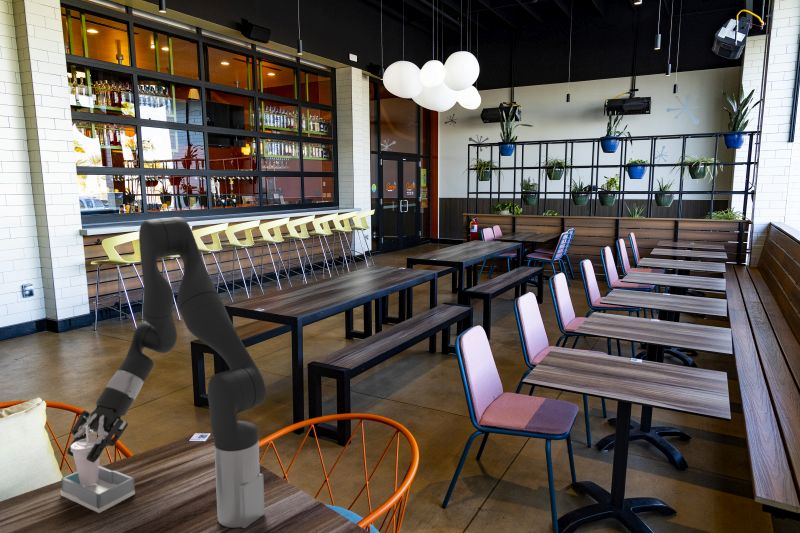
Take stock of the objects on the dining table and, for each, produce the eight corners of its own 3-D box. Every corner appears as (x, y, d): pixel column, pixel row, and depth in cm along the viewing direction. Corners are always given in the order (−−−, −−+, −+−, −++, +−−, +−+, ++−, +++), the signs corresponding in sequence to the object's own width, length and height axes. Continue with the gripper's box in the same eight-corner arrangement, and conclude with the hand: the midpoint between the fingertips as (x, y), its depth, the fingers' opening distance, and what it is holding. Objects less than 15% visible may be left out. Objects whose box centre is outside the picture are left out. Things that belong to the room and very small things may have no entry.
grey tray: (135, 493, 127) (134, 478, 126) (99, 513, 119) (97, 496, 119) (97, 478, 134) (96, 463, 133) (60, 495, 126) (59, 479, 126)
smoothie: (94, 488, 125) (89, 431, 123) (67, 488, 125) (62, 431, 123) (109, 474, 131) (105, 420, 129) (84, 474, 131) (79, 420, 130)
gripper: (90, 382, 135) (47, 446, 126) (131, 390, 129) (89, 458, 120) (110, 395, 140) (71, 457, 131) (150, 403, 135) (112, 469, 126)
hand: (80, 457), depth 126 cm, fingers closed on smoothie, 6 cm apart
